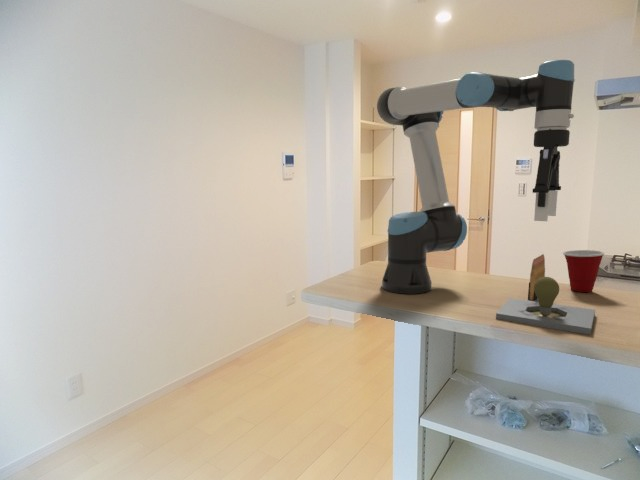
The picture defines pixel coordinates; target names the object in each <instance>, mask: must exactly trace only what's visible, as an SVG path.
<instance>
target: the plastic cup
mask: <svg viewBox="0 0 640 480" xmlns="http://www.w3.org/2000/svg"><path fill="white" fill-rule="evenodd" d="M562 254H563V255H564V258H565V260H566V266H567V271H568V272H567V273H568V279H569V286H570V290H572V291H575V292H579V293H580V292H581V293H591V292H593V290H594V287H595V283H596V281H597V278H598V277H597V276H598V273H599V269H600V266H601V262H602V259H603V256H604V255H605V252H604V251H600V250H590V249H589V250H588V249H585V250H581V249H580V250H567V251H563V252H562Z"/></svg>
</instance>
